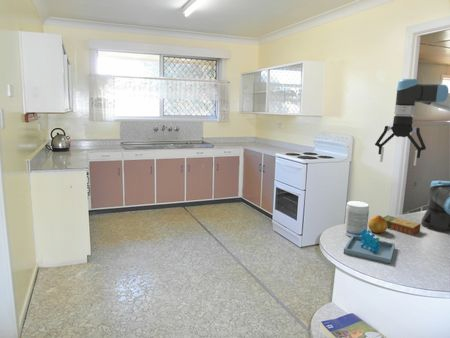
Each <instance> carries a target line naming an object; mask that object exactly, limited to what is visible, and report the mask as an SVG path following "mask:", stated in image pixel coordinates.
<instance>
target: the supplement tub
mask: <svg viewBox="0 0 450 338" xmlns="http://www.w3.org/2000/svg"><path fill="white" fill-rule="evenodd" d="M369 213H370V205H369V204H368V203H366V202H365V201H364V202H363V201H358V200H357V201H356V200H351V201H348V202H346V208H345V221H344V234H345V236H349V237H350V238H351V237H352V235H355V236H360V235H362V234H361V233H360V232H362V231H363V230H364V229H365V230H367V231H368V223H369V215H370V214H369ZM366 233H367V232H366Z"/></svg>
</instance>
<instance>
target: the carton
mask: <svg viewBox="0 0 450 338" xmlns="http://www.w3.org/2000/svg"><path fill="white" fill-rule="evenodd" d="M382 217H383V218H384V219H385V220H386V222H387V229H389V230H393V231H397V232H400V233H402V234H407V235H409V234H410V235H409V236H414V235H415V234H417V233H419V232H420V231H421V226H422V225H421V223H418V222H414V221H411V220H407V219H403V218H401V217H400V218H399V217H394V216H391V215H385V216H382Z"/></svg>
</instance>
